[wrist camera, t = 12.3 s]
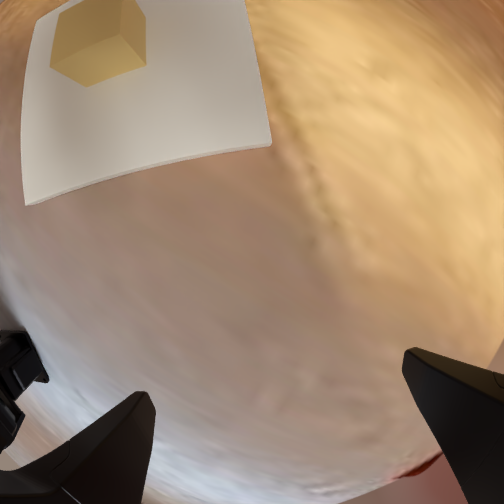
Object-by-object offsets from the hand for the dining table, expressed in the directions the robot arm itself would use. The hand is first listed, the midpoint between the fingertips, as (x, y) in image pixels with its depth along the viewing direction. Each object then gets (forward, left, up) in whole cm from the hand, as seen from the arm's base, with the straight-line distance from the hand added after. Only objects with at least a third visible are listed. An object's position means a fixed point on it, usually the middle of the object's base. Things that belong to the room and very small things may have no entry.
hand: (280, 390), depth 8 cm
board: (-8, +19, -12) cm, 24 cm away
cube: (-8, +19, -10) cm, 23 cm away
